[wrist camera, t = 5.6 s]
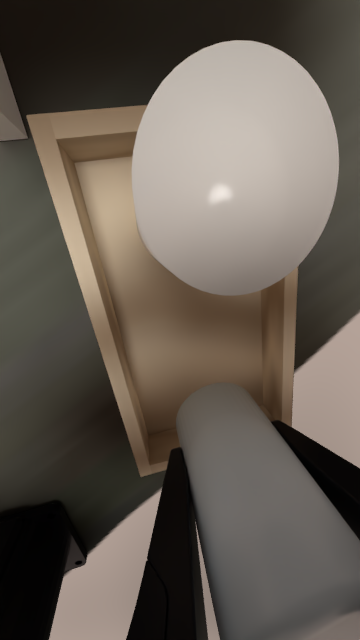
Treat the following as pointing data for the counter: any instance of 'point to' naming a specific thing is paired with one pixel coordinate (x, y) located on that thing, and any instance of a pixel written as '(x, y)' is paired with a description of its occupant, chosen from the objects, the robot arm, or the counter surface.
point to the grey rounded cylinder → (265, 526)
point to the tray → (155, 292)
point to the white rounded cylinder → (234, 168)
